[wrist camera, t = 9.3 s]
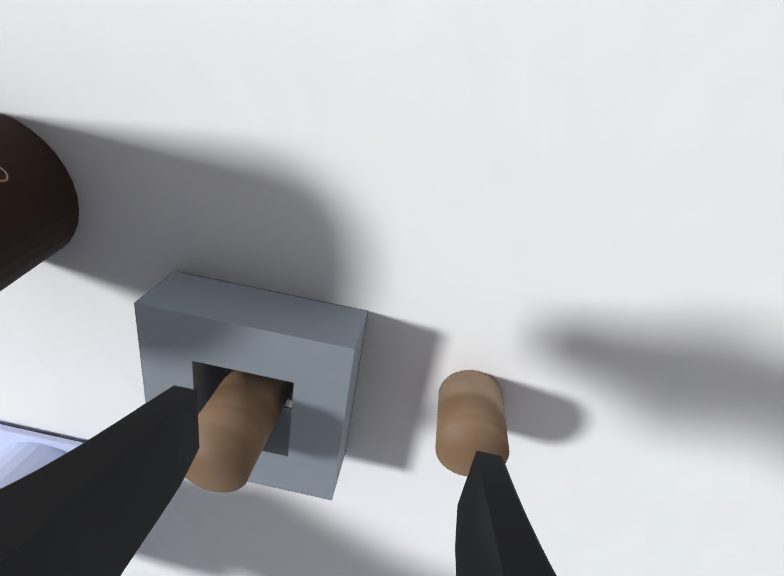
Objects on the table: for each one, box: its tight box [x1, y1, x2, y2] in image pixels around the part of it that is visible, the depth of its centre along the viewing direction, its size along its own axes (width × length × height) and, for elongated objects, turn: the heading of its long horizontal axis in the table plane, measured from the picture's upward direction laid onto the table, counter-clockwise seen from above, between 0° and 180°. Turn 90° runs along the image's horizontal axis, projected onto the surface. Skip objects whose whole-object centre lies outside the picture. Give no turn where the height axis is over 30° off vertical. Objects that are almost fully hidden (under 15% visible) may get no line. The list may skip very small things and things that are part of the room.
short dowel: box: [436, 370, 509, 476], centre depth 21 cm, size 3×3×4 cm
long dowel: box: [185, 369, 294, 492], centre depth 21 cm, size 3×3×6 cm
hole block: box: [134, 271, 368, 500], centre depth 22 cm, size 9×9×3 cm
